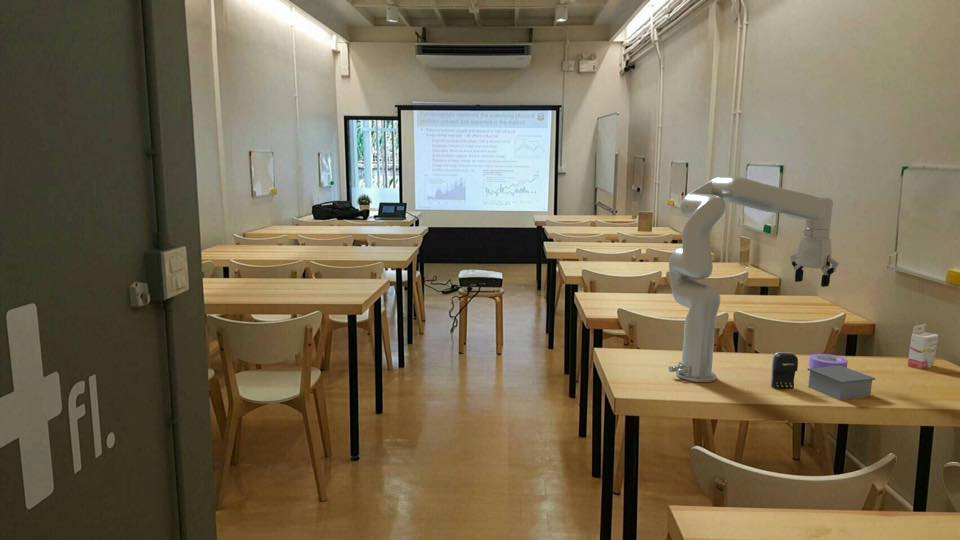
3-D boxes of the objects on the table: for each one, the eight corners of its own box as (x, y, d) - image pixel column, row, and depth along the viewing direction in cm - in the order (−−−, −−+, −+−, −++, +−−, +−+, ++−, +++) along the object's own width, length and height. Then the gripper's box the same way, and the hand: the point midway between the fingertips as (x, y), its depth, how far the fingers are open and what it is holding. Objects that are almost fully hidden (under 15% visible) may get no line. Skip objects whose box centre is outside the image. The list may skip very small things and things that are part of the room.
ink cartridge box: (922, 370, 224) (927, 329, 221) (906, 366, 228) (912, 325, 225) (934, 366, 228) (940, 326, 225) (919, 362, 232) (924, 323, 230)
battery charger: (774, 390, 201) (777, 355, 199) (769, 386, 204) (772, 351, 203) (797, 390, 200) (800, 355, 199) (791, 386, 204) (794, 352, 202)
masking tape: (802, 363, 229) (803, 353, 229) (834, 363, 230) (835, 353, 229) (820, 374, 218) (821, 363, 217) (854, 374, 218) (855, 363, 218)
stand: (839, 401, 192) (841, 381, 191) (805, 386, 205) (807, 368, 204) (872, 397, 196) (875, 378, 195) (837, 383, 208) (839, 365, 207)
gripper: (786, 231, 221) (781, 280, 224) (834, 237, 206) (828, 289, 209) (800, 231, 225) (795, 279, 228) (848, 236, 210) (842, 287, 213)
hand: (811, 283), depth 218 cm, fingers open, 9 cm apart
